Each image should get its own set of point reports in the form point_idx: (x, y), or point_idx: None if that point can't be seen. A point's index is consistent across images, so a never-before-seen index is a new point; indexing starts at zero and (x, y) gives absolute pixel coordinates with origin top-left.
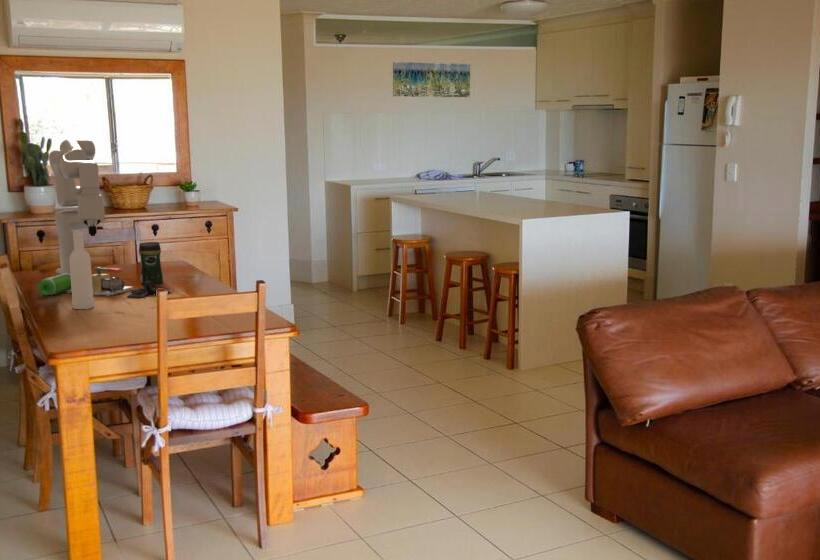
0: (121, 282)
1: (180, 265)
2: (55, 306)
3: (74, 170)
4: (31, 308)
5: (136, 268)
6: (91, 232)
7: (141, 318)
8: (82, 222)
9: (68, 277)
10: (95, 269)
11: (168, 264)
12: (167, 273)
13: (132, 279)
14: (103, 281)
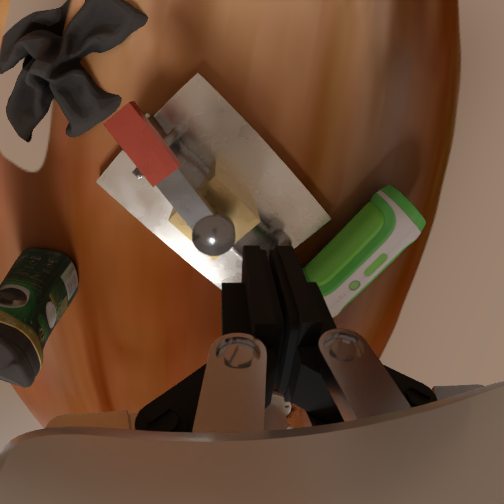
0: None
1: (43, 419)
2: (399, 3)
3: None
4: (455, 27)
5: None
6: (295, 267)
7: None
8: (442, 390)
9: (321, 279)
10: (231, 221)
11: None
12: (42, 369)
13: (111, 344)
14: (202, 174)
